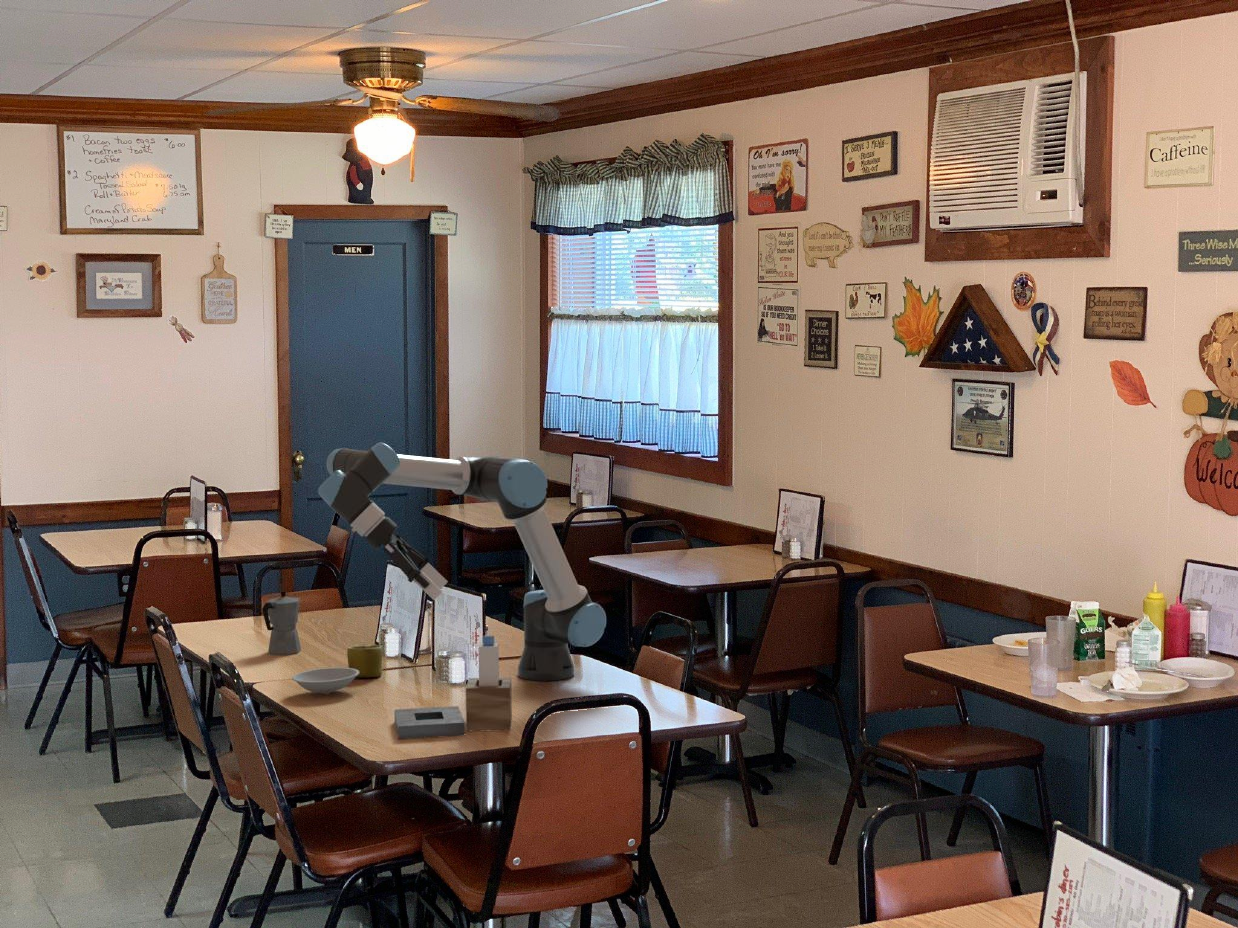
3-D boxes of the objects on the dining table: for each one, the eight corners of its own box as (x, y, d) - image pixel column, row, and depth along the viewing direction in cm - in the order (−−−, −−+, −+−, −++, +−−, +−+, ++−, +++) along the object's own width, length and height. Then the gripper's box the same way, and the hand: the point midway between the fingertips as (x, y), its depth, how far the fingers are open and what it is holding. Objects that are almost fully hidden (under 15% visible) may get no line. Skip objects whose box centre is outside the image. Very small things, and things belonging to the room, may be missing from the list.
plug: (480, 693, 333) (479, 634, 332) (499, 693, 333) (498, 634, 332) (479, 697, 329) (478, 638, 328) (498, 697, 329) (497, 638, 328)
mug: (379, 674, 374) (371, 638, 376) (345, 684, 376) (336, 648, 378) (398, 673, 386) (390, 637, 388) (365, 683, 388) (356, 647, 390)
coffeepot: (286, 646, 419) (285, 585, 418) (312, 648, 415) (310, 588, 413) (251, 656, 405) (249, 593, 404) (277, 659, 401) (275, 596, 400)
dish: (309, 704, 351) (308, 684, 350) (281, 694, 361) (280, 674, 361) (371, 693, 362) (370, 673, 362) (342, 683, 373) (341, 664, 373)
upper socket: (469, 719, 336) (468, 678, 336) (511, 719, 337) (511, 677, 336) (466, 731, 326) (465, 688, 326) (510, 730, 327) (509, 687, 326)
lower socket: (458, 718, 338) (458, 705, 337) (464, 735, 323) (464, 722, 323) (394, 721, 334) (394, 709, 334) (398, 739, 320) (398, 726, 320)
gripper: (371, 531, 339) (434, 592, 341) (355, 545, 315) (424, 612, 316) (393, 509, 339) (456, 570, 341) (379, 521, 314) (447, 588, 316)
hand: (441, 590), depth 329 cm, fingers open, 13 cm apart
